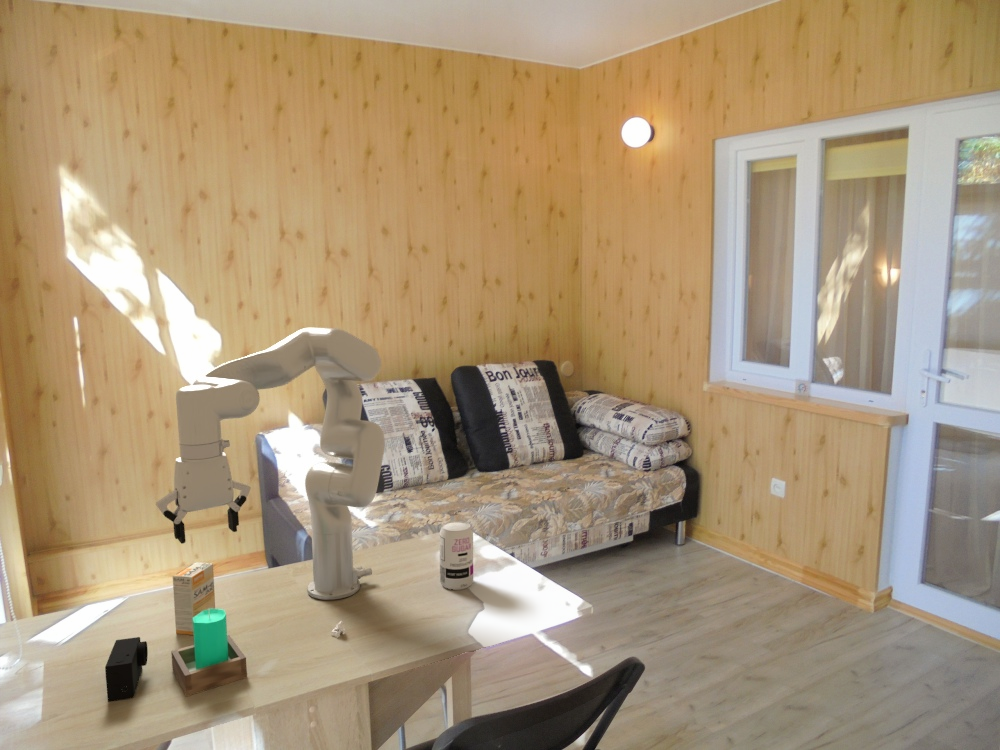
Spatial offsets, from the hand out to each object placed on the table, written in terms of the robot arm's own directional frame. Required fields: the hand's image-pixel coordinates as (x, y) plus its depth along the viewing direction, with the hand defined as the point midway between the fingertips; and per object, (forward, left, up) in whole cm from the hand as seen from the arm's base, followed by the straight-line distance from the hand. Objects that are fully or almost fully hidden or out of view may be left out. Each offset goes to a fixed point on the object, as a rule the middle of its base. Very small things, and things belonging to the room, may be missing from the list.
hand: (207, 535), depth 144 cm
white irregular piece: (-24, +3, -27) cm, 36 cm away
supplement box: (-1, -18, -26) cm, 32 cm away
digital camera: (+15, -1, -26) cm, 31 cm away
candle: (+2, +4, -25) cm, 25 cm away
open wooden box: (+2, +4, -26) cm, 26 cm away
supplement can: (-59, -3, -26) cm, 65 cm away
